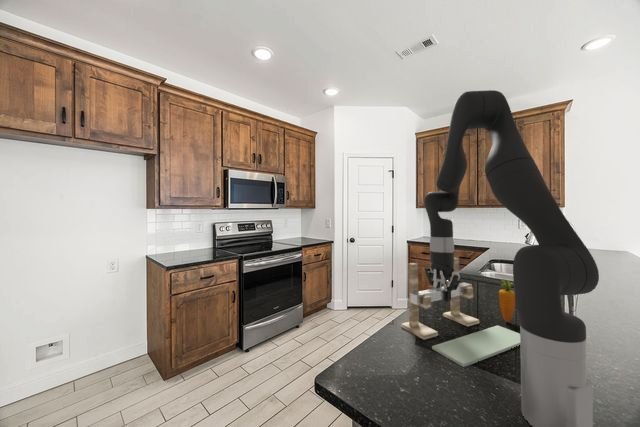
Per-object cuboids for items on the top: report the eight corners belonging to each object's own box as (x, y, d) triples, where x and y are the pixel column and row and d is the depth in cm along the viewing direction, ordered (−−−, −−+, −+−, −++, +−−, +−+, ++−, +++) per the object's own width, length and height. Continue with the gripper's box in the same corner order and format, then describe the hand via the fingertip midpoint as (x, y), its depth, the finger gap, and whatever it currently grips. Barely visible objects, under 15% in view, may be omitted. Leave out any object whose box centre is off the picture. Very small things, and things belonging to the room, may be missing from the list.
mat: (531, 340, 79) (531, 338, 79) (463, 367, 67) (463, 364, 67) (497, 327, 89) (497, 325, 89) (432, 348, 76) (432, 346, 76)
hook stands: (479, 323, 92) (478, 260, 92) (423, 339, 82) (422, 268, 81) (454, 313, 101) (453, 256, 101) (401, 327, 91) (400, 263, 90)
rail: (472, 292, 94) (472, 284, 94) (417, 305, 84) (417, 295, 84) (464, 290, 97) (464, 282, 97) (410, 302, 86) (410, 293, 86)
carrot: (519, 326, 89) (518, 281, 89) (502, 325, 90) (502, 281, 90) (511, 320, 94) (511, 278, 94) (496, 319, 95) (495, 277, 95)
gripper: (418, 248, 95) (419, 295, 95) (451, 253, 82) (452, 308, 82) (433, 246, 98) (434, 292, 98) (468, 251, 85) (469, 304, 86)
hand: (442, 299), depth 90 cm, fingers closed on rail, 3 cm apart
